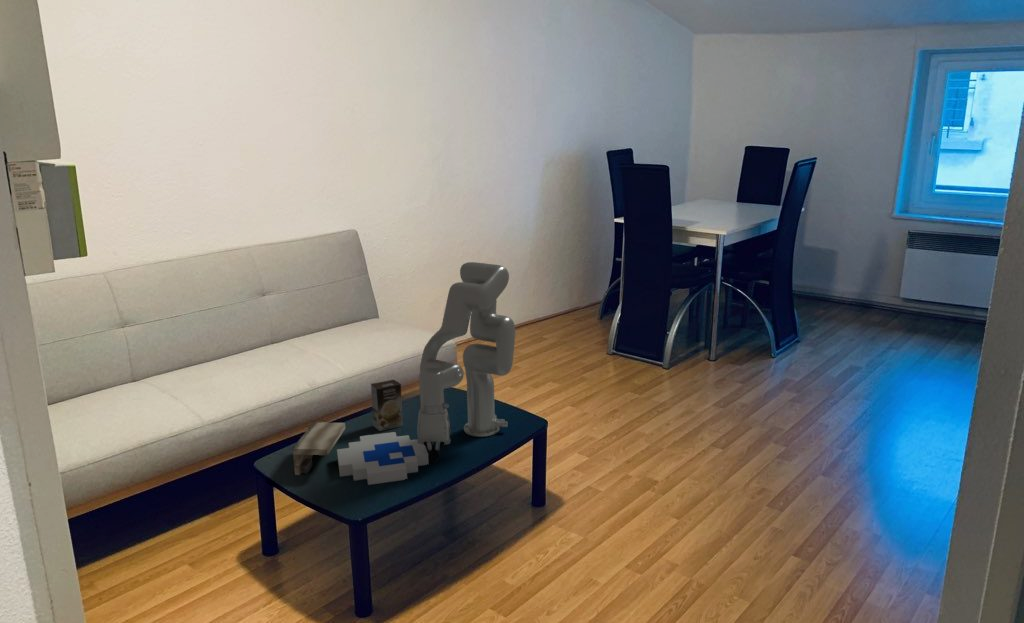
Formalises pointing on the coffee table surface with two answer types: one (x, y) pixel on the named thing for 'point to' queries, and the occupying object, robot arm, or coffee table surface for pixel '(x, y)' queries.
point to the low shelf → (315, 444)
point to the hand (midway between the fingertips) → (434, 459)
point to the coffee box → (386, 405)
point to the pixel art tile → (382, 458)
